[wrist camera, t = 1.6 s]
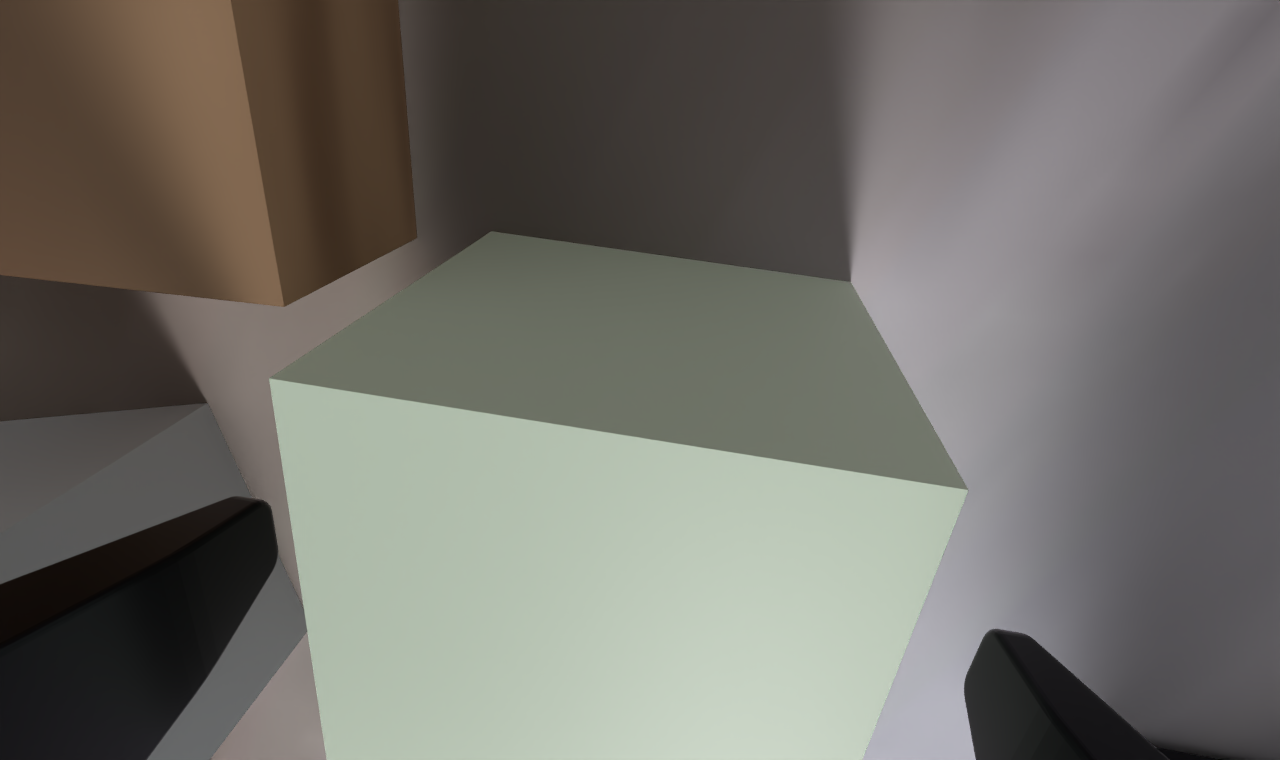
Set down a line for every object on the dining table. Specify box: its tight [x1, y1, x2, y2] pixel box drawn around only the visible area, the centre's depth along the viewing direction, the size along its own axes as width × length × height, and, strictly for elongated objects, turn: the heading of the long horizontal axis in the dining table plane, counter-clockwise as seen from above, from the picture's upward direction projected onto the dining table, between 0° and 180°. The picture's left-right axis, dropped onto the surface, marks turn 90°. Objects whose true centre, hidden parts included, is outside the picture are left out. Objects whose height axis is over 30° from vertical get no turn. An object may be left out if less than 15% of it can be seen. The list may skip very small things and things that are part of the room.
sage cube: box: [269, 231, 968, 760], centre depth 10 cm, size 6×6×6 cm
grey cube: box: [0, 403, 307, 760], centre depth 12 cm, size 6×6×6 cm
